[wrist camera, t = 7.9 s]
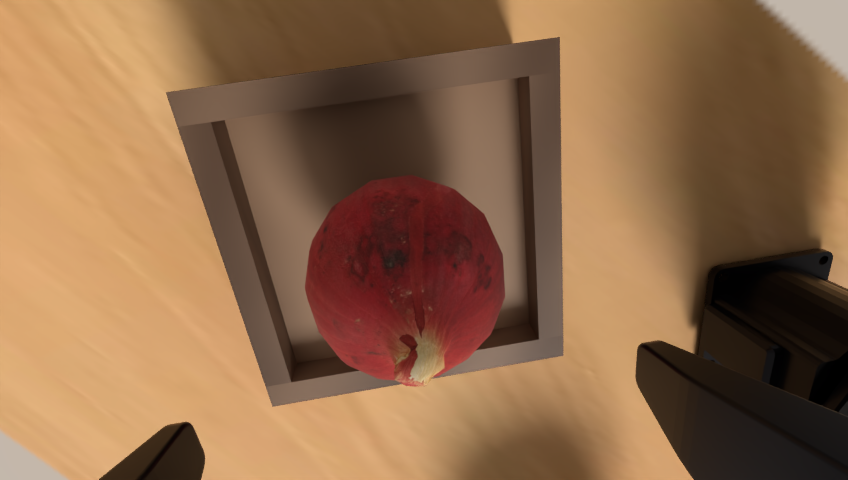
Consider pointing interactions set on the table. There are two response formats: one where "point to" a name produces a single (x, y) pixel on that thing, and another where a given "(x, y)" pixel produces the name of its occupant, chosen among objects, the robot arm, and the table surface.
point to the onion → (405, 279)
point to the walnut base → (371, 160)
